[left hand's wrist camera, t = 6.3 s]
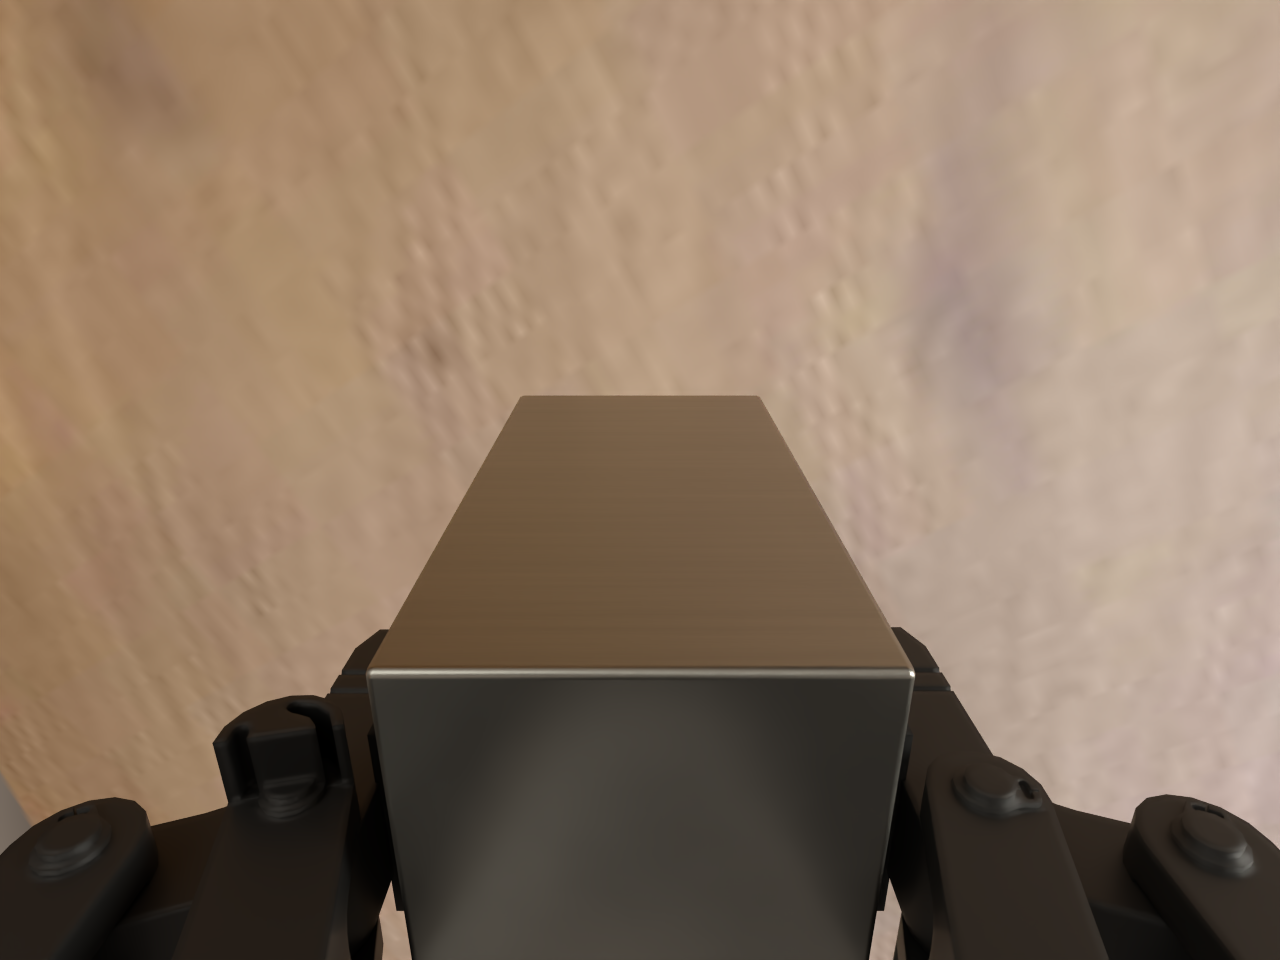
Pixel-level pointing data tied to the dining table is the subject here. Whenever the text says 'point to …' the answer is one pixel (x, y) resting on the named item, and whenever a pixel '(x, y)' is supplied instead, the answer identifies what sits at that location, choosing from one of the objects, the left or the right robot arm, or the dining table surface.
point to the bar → (640, 700)
